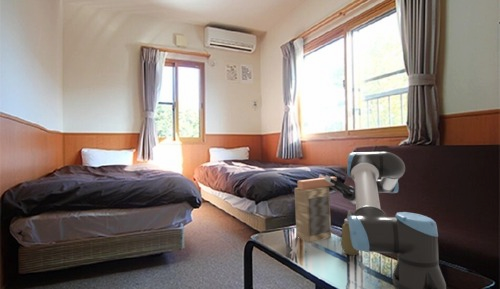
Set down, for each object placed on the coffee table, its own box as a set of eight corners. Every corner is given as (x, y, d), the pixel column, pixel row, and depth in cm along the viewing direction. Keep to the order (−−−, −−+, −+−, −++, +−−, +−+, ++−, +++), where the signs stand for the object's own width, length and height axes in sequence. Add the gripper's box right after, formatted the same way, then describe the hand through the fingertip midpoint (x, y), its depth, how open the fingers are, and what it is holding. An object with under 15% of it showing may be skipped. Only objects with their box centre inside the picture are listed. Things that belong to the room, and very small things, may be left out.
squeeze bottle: (363, 256, 120) (361, 213, 120) (342, 256, 122) (340, 213, 121) (359, 249, 128) (357, 208, 128) (340, 249, 129) (338, 208, 129)
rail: (331, 184, 155) (331, 176, 155) (337, 184, 151) (336, 177, 151) (297, 188, 145) (297, 180, 145) (302, 189, 142) (302, 181, 142)
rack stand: (318, 232, 154) (316, 185, 154) (331, 237, 145) (329, 187, 145) (296, 236, 148) (294, 188, 148) (309, 242, 139) (306, 190, 139)
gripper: (362, 203, 150) (331, 185, 141) (338, 198, 166) (309, 181, 156) (367, 190, 152) (336, 171, 143) (343, 186, 167) (314, 169, 158)
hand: (322, 177), depth 150 cm, fingers closed on rail, 4 cm apart
